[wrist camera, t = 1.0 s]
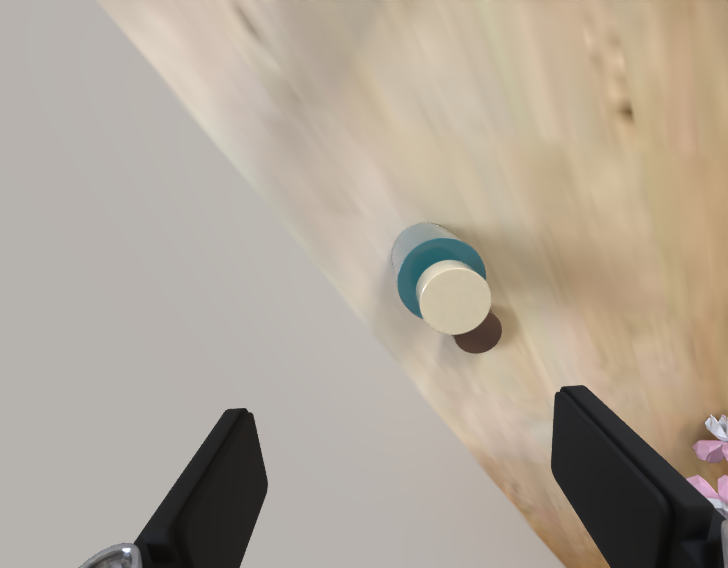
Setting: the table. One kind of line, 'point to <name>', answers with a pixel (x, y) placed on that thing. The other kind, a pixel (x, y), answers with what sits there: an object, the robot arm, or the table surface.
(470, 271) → the bottle
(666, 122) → the table surface
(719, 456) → the flower
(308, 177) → the table surface
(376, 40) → the table surface
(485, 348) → the brown round puck
